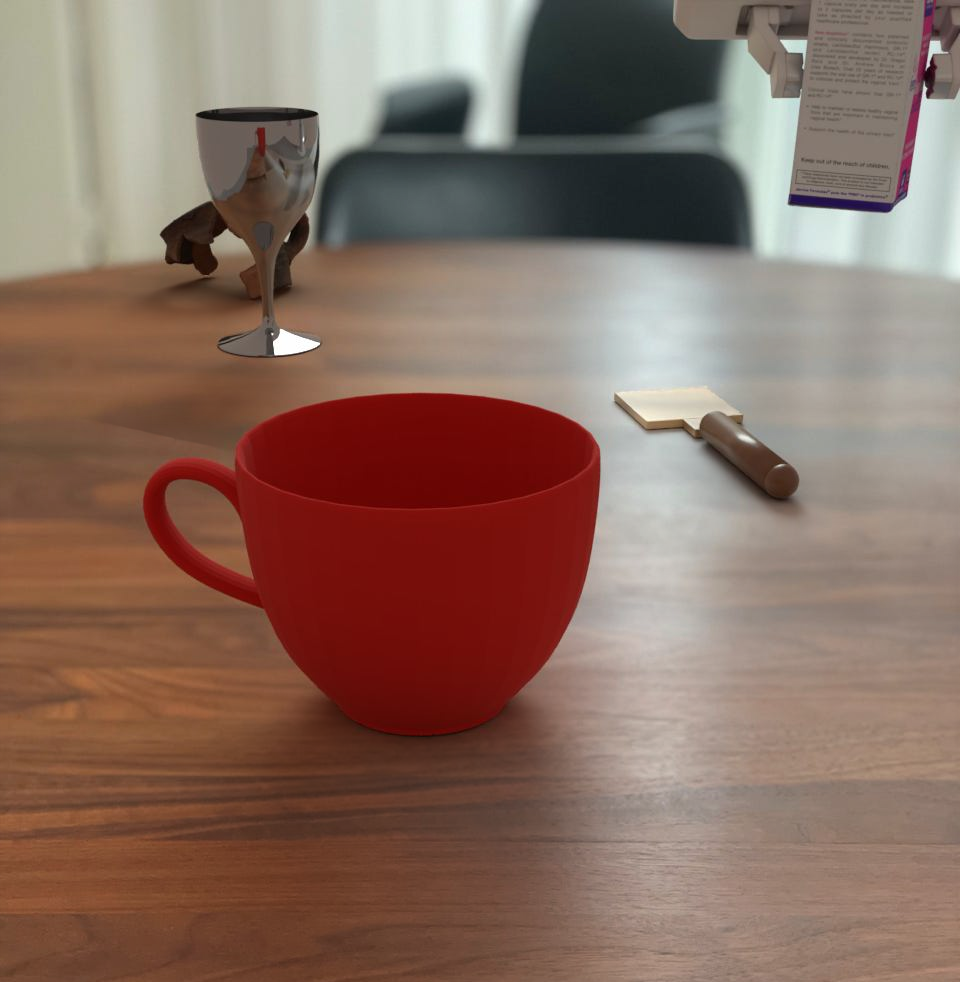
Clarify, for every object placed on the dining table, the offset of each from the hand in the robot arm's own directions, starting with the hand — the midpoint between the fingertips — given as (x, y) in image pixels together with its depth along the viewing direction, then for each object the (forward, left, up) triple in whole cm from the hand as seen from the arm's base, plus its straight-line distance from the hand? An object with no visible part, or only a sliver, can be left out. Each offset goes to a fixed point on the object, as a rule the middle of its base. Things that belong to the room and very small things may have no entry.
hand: (867, 91), depth 80 cm
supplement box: (0, -1, -6) cm, 6 cm away
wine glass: (+30, -25, -19) cm, 43 cm away
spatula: (+8, +2, -18) cm, 20 cm away
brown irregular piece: (+30, -43, -19) cm, 56 cm away
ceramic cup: (+32, +27, -19) cm, 46 cm away
